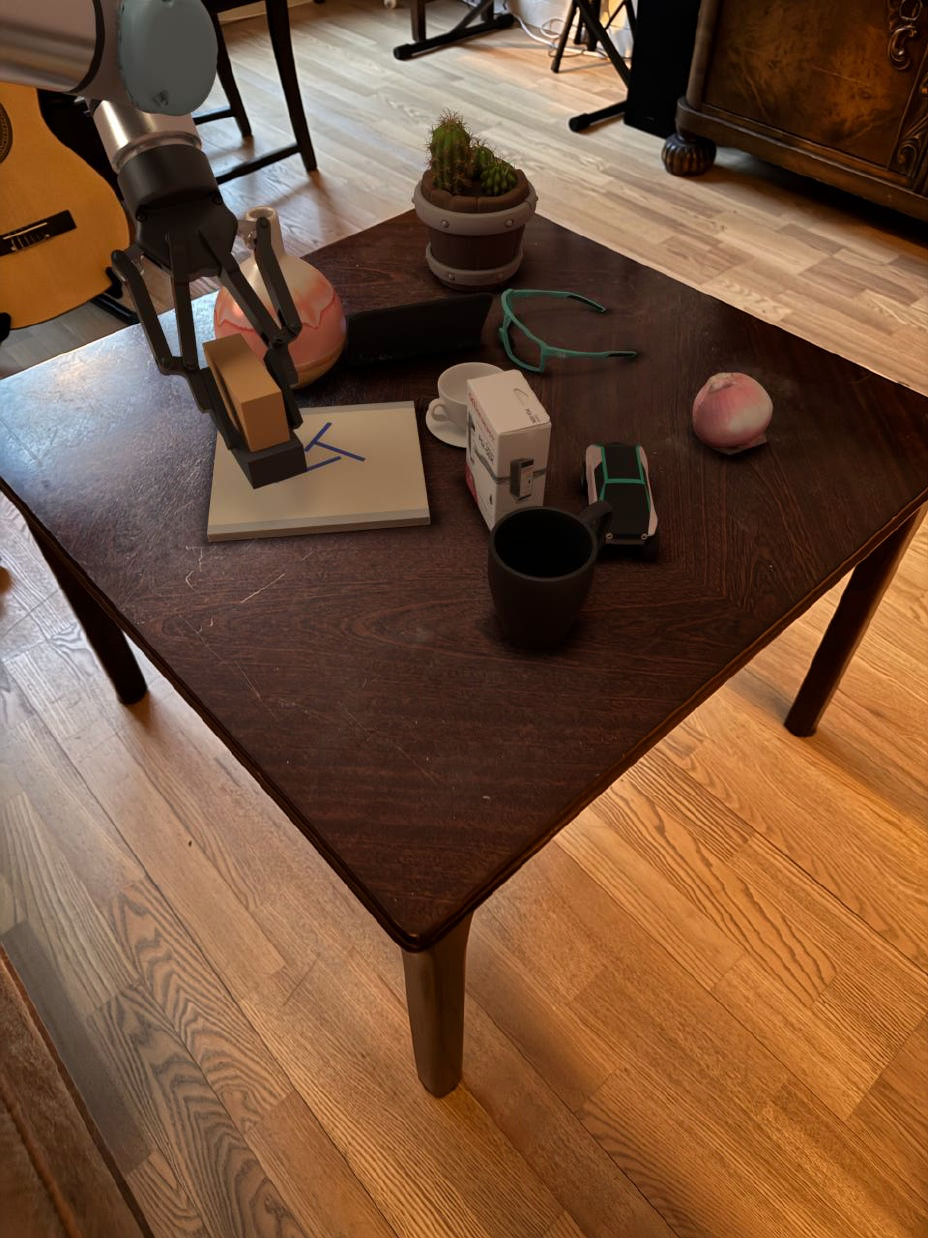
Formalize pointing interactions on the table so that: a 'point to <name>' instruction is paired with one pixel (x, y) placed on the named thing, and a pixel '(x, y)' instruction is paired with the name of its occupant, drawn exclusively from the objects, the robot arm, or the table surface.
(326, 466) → the board
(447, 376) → the teacup
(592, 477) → the toy car
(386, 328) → the game console
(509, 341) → the sunglasses
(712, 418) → the onion
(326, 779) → the table surface
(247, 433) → the eraser
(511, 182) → the flowerpot
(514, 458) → the ink box
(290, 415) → the robot arm
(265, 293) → the vase
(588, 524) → the mug
